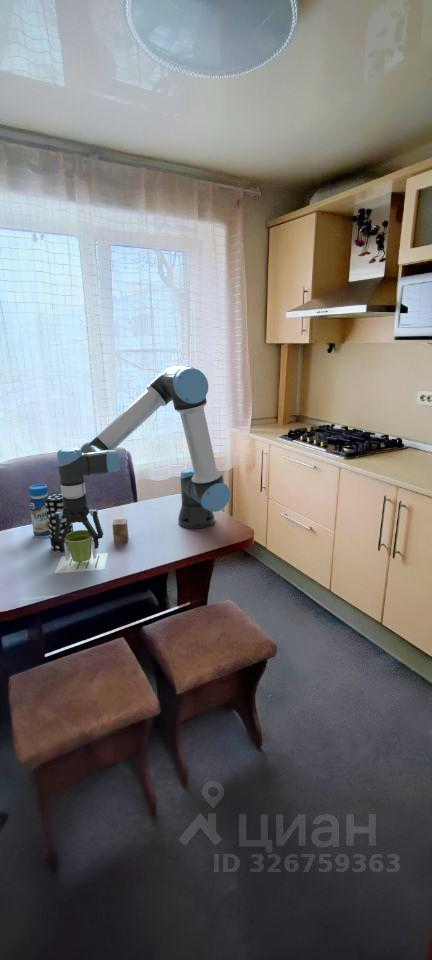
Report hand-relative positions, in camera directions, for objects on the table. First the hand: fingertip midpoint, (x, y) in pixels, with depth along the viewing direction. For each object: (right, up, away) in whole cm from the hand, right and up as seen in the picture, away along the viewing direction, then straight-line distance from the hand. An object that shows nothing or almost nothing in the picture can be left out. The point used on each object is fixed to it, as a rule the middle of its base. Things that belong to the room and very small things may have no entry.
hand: (81, 557), depth 149 cm
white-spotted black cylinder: (-11, +1, +13) cm, 17 cm away
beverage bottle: (-22, +5, +25) cm, 34 cm away
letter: (0, -2, +1) cm, 2 cm away
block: (+10, +3, +17) cm, 20 cm away
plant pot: (0, -1, 0) cm, 1 cm away
